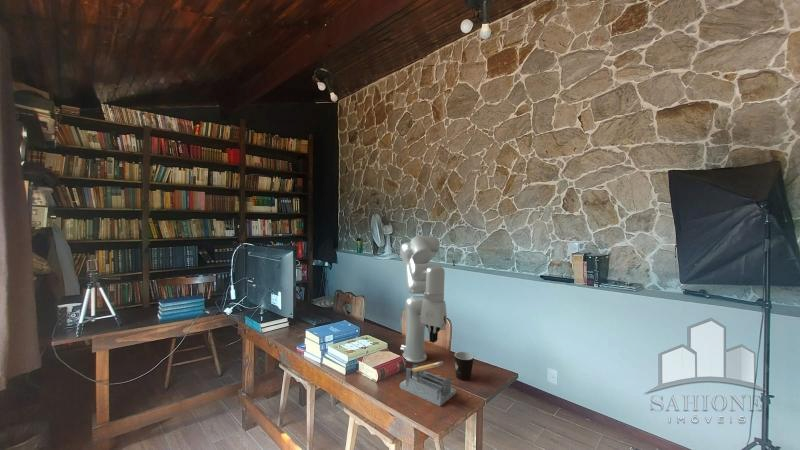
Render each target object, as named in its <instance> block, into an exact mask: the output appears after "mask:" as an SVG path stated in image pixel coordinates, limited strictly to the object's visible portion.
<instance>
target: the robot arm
mask: <svg viewBox="0 0 800 450" xmlns="http://www.w3.org/2000/svg"><path fill="white" fill-rule="evenodd" d="M440 246H441V245H440V240H439V239H438V237H436V236H434V235H416V236H414V237H412V238H411V239H410V241H406V242H404V243H402V244H401V245H400V256H401V260H402V262H403V265H404V269H405V280H406V281H405V282H406V283H405V284H406V290H407V292H408V294H411V295H412V296H408V297H407V298H406V299H405V301H404V309H405V320H406V321H405V322H406V323H405V324H406V325H405V344H401V346H400V351H403V353H402V354H401V357H402V356H403V357H404V358H405V359H406V360H405V361H406V362H409V363H413V364H416V363H422V362H425V361H426V360H428V359H427V358H428V356H427V354H426V353H425V333H426V332H425V327H426V329H427V331H428V333H429V334H428V335H429V343H432V344H434V343H436V342H438V337H439V332H440V331H445V330H446V328H447V327H446V325H447V305H446V301H445V300H444V299H445V277H446V276H445V274H446V273H445V272H446V271H445V269H444V268H443V266H442V265H441V264H438V263H429V262H430V261H431V260H432V258H433V257H434V256H435V255H436V254H437V253H439V250H440ZM403 357H402V358H403Z"/></svg>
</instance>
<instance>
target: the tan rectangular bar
mask: <svg viewBox="0 0 800 450" xmlns="http://www.w3.org/2000/svg"><path fill="white" fill-rule="evenodd" d="M443 364H444V361H442V360H441V361H437V362H434V363H429V364H425V365H421V366H419V367H417V368H415V367H414V368H413V367H412V368H411V369H412V374H413V372H417V371H419V372H420V371H421V372H422V370H423V371H426V370H430V369H432V368H437V367H440V366H442V365H443Z"/></svg>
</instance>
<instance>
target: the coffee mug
mask: <svg viewBox="0 0 800 450" xmlns="http://www.w3.org/2000/svg"><path fill="white" fill-rule="evenodd" d="M474 357H475V356H474V355H473V354H472V353H471V352H467V351H457V352H455V353H454V365H455V376H456V377H455V378H456V379H458V380H459V381H463V382H467V381H470V380H471V378H472V370H473V364H474Z"/></svg>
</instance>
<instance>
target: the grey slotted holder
mask: <svg viewBox="0 0 800 450" xmlns="http://www.w3.org/2000/svg"><path fill="white" fill-rule="evenodd" d="M414 367H415V368H417V367H420V365H418V364H416V363H413V364H412V368H414ZM412 368H410V367H406V368H405V369H406V370H405V371H406V372H405V379H404V380H403V381H401V382H400V383H399V389H401V390H403V391H406V392H407V393H410V394H412V395H415V396H416V397H419V398H421V399H423V400H425V401H426V402H430V403H431V404H434V405H435V406H438V407H441V406H443V404H445V403H446V402H447V401H448V400H450V399H451V398H452V397H454V396H455V395H456V390H457V389H456V388H454V387H452V377H450V376H449V377H447V378H444V377H441V376H438V375H436V374H433V373H431V372H428V371H426V370H421V372H420V371H417V372H413V373H412Z"/></svg>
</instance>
